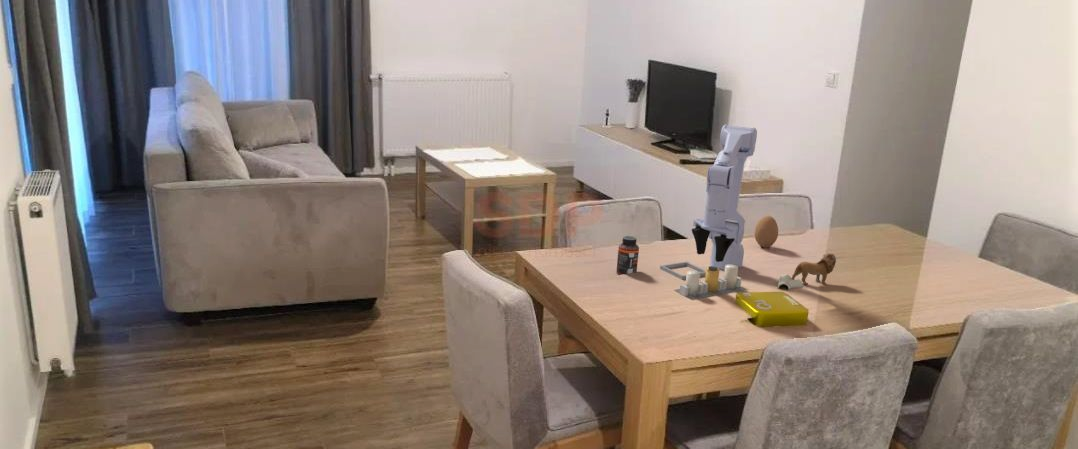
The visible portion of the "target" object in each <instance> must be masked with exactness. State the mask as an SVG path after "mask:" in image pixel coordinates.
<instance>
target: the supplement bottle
mask: <svg viewBox="0 0 1078 449" xmlns="http://www.w3.org/2000/svg"><path fill="white" fill-rule="evenodd" d="M621 241H622V243H620V244H619V245H618V250H617V260H616V261H617V263H616V274H617V275H618V276H621V275H628V274H634V273H637V272H638V262H639V250H640V247H639V245H638V244H637V237H635V236H631V235H630V236H629V235H625V236H623V237H622V240H621Z"/></svg>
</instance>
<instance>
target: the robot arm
mask: <svg viewBox="0 0 1078 449" xmlns="http://www.w3.org/2000/svg"><path fill="white" fill-rule="evenodd" d="M719 136H720V137H719V143H720V147H721V151H720V152H719V153H718V154H717V156H716V159H715V161H714V163H713V165H712V166H709V167H708V169H707V173H706V193H707V194H706V201H705V210H704V217H703V219H701V218H695V219H693V221H692V222H693V223H692V226H693V227H694V228H692V229H691V233H692V235H693V237H694V240H695V248H696V254H697V255H705V253H706V248H707V242H708V240H711V244H712V245H711V252H710V254H711V255H710V263H709V266H715V267H717V268H718V269H719V270H723V271H725V265H729V264H730V265H736V266H738V268H742V267H743V262H744V255H745V248H744V246H743V244H742V242H743V240H744V233H745V223H746V221H745V218H744V216H743V215H741V214H740V213H739V212H738V206H739V199H740V194H741V187H742V181H743V174H744V168H745V163H746V161H747V158H748V157H752V156H754V153H755V150H756V143H757V137H758V130H757V129H756V127H745V126H738V125H731V124H730V125H729V124H727V123H726V124H724V125H723V126H722V127H721V130H720V135H719ZM727 220H728V221H727Z"/></svg>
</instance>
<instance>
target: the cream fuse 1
mask: <svg viewBox="0 0 1078 449" xmlns="http://www.w3.org/2000/svg"><path fill="white" fill-rule="evenodd" d="M685 275H686V279H685V284H684V285H685V286H687V287H689V290H688V295H691V296H696V295H698V288H699V283H700V280H701V279H700V278H701V276H700V272H698V271H696V270H687V271H686V274H685Z"/></svg>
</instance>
